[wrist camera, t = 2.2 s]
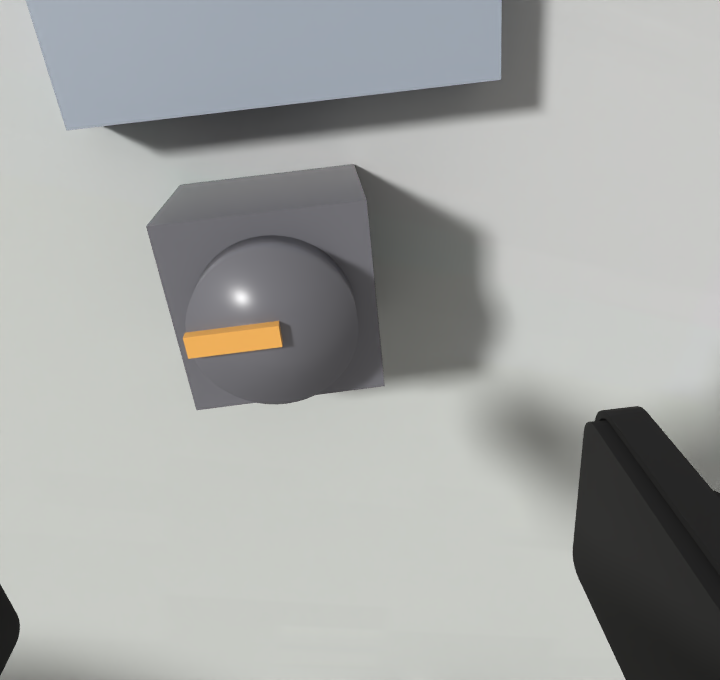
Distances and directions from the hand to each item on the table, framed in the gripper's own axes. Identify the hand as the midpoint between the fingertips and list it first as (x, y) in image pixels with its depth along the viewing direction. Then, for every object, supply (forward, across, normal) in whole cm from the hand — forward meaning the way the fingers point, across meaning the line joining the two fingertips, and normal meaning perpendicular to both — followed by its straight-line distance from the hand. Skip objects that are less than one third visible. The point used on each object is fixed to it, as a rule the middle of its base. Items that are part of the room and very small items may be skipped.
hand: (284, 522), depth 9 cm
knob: (+13, +1, 0) cm, 13 cm away
